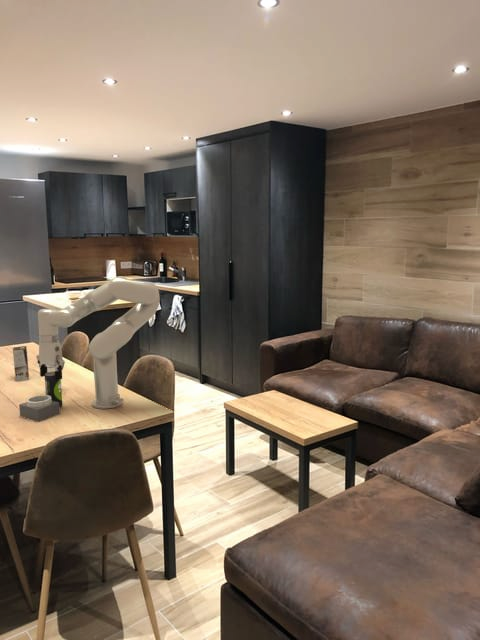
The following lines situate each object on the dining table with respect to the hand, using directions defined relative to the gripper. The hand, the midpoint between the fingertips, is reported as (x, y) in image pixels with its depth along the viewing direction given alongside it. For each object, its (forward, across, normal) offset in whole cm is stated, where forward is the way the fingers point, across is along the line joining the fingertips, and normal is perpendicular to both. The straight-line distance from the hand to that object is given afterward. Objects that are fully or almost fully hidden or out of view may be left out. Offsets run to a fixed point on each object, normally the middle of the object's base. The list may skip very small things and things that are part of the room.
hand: (51, 377), depth 212 cm
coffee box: (+14, +51, -20) cm, 57 cm away
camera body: (+13, -4, +9) cm, 16 cm away
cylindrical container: (+13, +18, -14) cm, 27 cm away
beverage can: (+13, -1, 0) cm, 13 cm away
